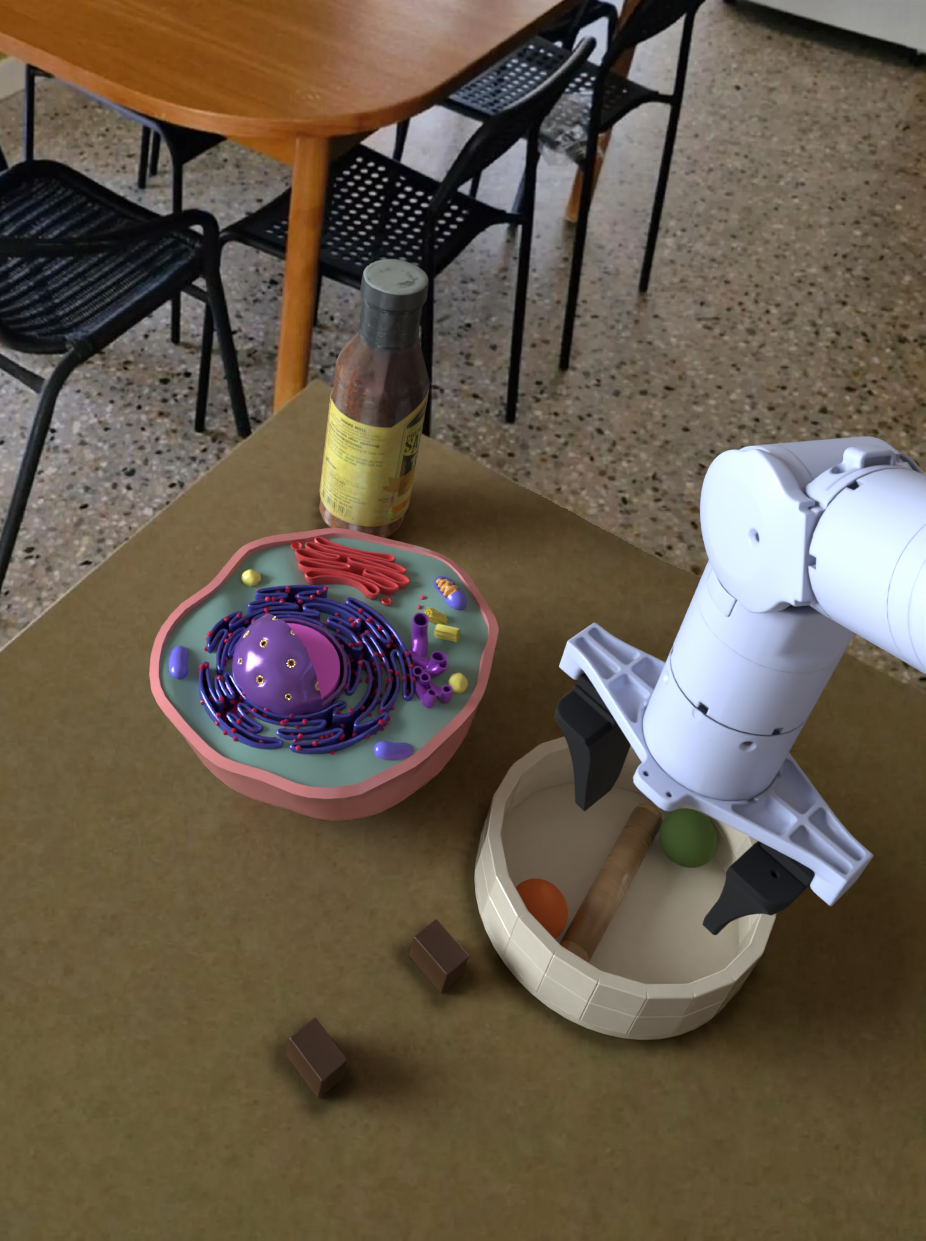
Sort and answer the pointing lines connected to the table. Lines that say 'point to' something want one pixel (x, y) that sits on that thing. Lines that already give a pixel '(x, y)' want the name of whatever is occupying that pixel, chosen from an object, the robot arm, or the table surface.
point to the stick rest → (321, 1054)
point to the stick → (612, 882)
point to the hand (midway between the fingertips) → (654, 854)
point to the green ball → (688, 838)
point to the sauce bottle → (377, 405)
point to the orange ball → (545, 904)
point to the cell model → (327, 670)
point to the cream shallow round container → (643, 923)
